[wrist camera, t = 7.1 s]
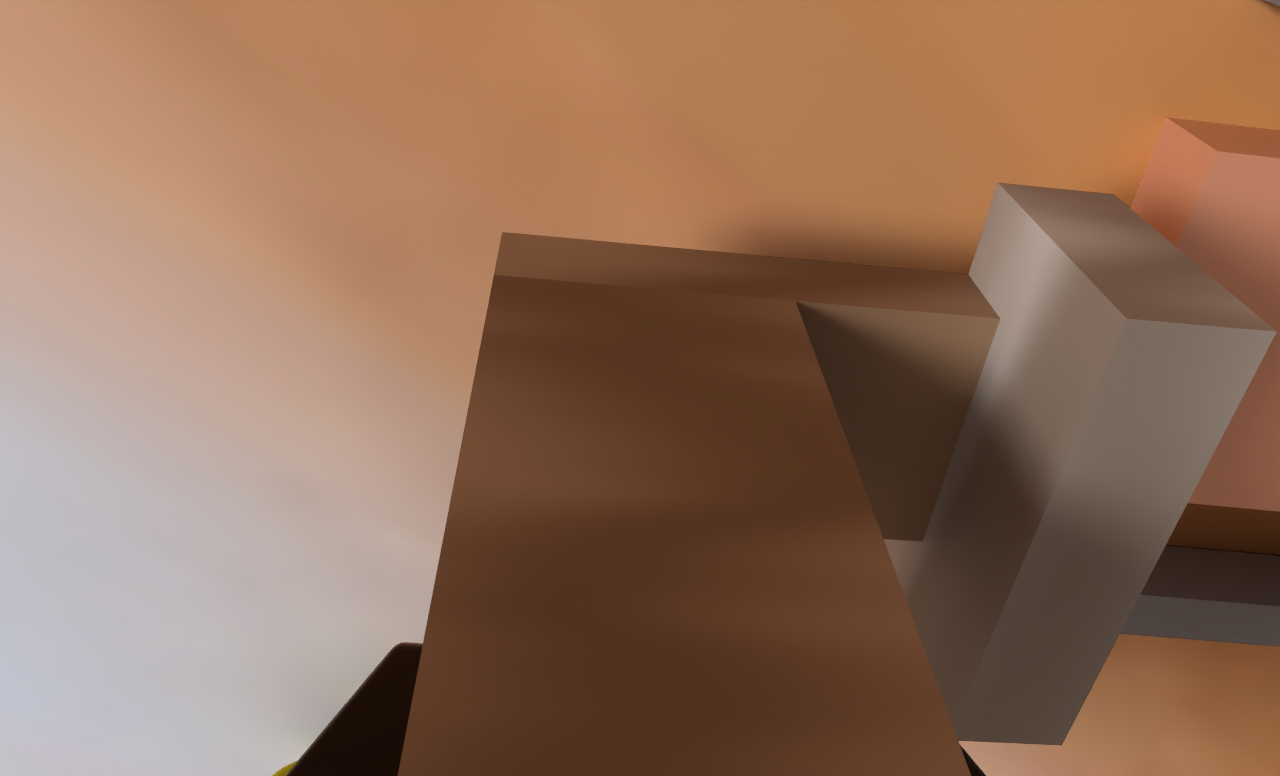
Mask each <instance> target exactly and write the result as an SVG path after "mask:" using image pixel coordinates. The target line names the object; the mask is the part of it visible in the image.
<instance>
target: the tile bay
mask: <svg viewBox="0 0 1280 776" xmlns="http://www.w3.org/2000/svg"><path fill="white" fill-rule="evenodd" d="M1264 1H1267V2H1269V3H1272V4H1275V5H1277V6H1280V0H1264ZM1120 634H1132V635H1144V636H1157V637H1169V638H1181V639H1193V640H1206V641H1218V642H1230V643H1242V644H1255V645H1267V646H1279V647H1280V556H1277V555H1265V554H1254V553H1243V552H1231V551H1220V550H1208V549H1197V548H1186V547H1174V546H1165V548H1164V550H1163V551H1162V553H1161V555H1160V557H1159V559H1158V561H1157V563H1156V565H1155V567H1154V569H1153V571H1152V573H1151V575H1150V576H1149V578H1148V580H1147V582H1146V584H1145V586H1144V588H1143V590H1142V592H1141V594H1140V596H1139V598H1138V600H1137V601H1136V603H1135V605H1134V607H1133V609H1132V611H1131V613H1130V615H1129V617H1128V619H1127V621H1126V623H1125V625H1124V626H1123V628H1122V630H1121V632H1120Z"/></svg>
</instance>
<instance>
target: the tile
mask: <svg viewBox="0 0 1280 776" xmlns="http://www.w3.org/2000/svg"><path fill="white" fill-rule="evenodd" d="M1130 209H1132V210H1133V211H1134V212H1135V213H1136V214H1138V215H1139V216H1140V217H1141V218H1142V219H1144V220H1145V221H1146V222H1147V223H1148V224H1149V225H1151V226H1152V227H1153V228H1154V229H1155V230H1157V231H1158V232H1159V233H1160V234H1161V235H1163V236H1164V237H1165V238H1166V239H1167V240H1168V241H1170V242H1171V243H1172V244H1173V245H1174V246H1176V247H1177V248H1178V249H1179V250H1180V251H1182V252H1183V253H1184V254H1185V255H1186V256H1187V257H1189V258H1190V259H1191V260H1192V261H1193V262H1195V263H1196V264H1197V265H1198V266H1199V267H1200V268H1202V269H1203V270H1204V271H1205V272H1206V273H1208V274H1209V275H1210V276H1211V277H1212V278H1214V279H1215V280H1216V281H1217V282H1218V283H1219V284H1221V285H1222V286H1223V287H1224V288H1225V289H1227V290H1228V291H1229V292H1230V293H1231V294H1233V295H1234V296H1235V297H1236V298H1237V299H1238V300H1240V301H1241V302H1242V303H1243V304H1244V305H1246V306H1247V307H1248V308H1249V309H1250V310H1252V311H1253V312H1254V313H1255V314H1256V315H1257V316H1259V317H1260V318H1261V319H1262V320H1263V321H1265V322H1266V323H1267V324H1268V325H1269V326H1271V327H1272V328H1273V329H1274V330H1275V331H1276V334H1275V336H1274V338H1273V340H1272V342H1271V344H1270V346H1269V348H1268V350H1267V352H1266V353H1265V355H1264V357H1263V359H1262V361H1261V363H1260V365H1259V367H1258V369H1257V371H1256V373H1255V375H1254V377H1253V378H1252V380H1251V382H1250V384H1249V386H1248V388H1247V390H1246V392H1245V394H1244V396H1243V398H1242V400H1241V402H1240V403H1239V405H1238V407H1237V409H1236V411H1235V413H1234V415H1233V417H1232V419H1231V421H1230V423H1229V425H1228V427H1227V428H1226V430H1225V432H1224V434H1223V436H1222V438H1221V440H1220V442H1219V444H1218V446H1217V448H1216V450H1215V452H1214V453H1213V455H1212V457H1211V459H1210V461H1209V463H1208V465H1207V467H1206V469H1205V471H1204V473H1203V475H1202V477H1201V478H1200V480H1199V482H1198V484H1197V486H1196V488H1195V490H1194V492H1193V494H1192V496H1191V498H1190V500H1189V501H1188V503H1192V504H1203V505H1213V506H1224V507H1235V508H1246V509H1257V510H1268V511H1279V512H1280V131H1279V130H1270V129H1262V128H1253V127H1245V126H1236V125H1227V124H1219V123H1210V122H1202V121H1193V120H1185V119H1176V118H1167V117H1166V120H1165V122H1164V125H1163V127H1162V130H1161V132H1160V135H1159V137H1158V140H1157V142H1156V145H1155V147H1154V150H1153V152H1152V155H1151V157H1150V160H1149V162H1148V165H1147V167H1146V170H1145V172H1144V175H1143V177H1142V180H1141V182H1140V185H1139V187H1138V190H1137V192H1136V195H1135V197H1134V200H1133V202H1132V205H1131V207H1130Z"/></svg>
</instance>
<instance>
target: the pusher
mask: <svg viewBox="0 0 1280 776" xmlns="http://www.w3.org/2000/svg"><path fill="white" fill-rule="evenodd" d="M1275 334H1276V331H1275V330H1274V329H1273V328H1272V327H1271V326H1269V325H1268V324H1267V323H1266V322H1265V321H1263V320H1262V319H1261V318H1260V317H1259V316H1257V315H1256V314H1255V313H1254V312H1253V311H1252V310H1250V309H1249V308H1248V307H1247V306H1246V305H1244V304H1243V303H1242V302H1241V301H1240V300H1238V299H1237V298H1236V297H1235V296H1234V295H1233V294H1231V293H1230V292H1229V291H1228V290H1227V289H1225V288H1224V287H1223V286H1222V285H1221V284H1219V283H1218V282H1217V281H1216V280H1215V279H1214V278H1212V277H1211V276H1210V275H1209V274H1208V273H1206V272H1205V271H1204V270H1203V269H1202V268H1200V267H1199V266H1198V265H1197V264H1196V263H1195V262H1193V261H1192V260H1191V259H1190V258H1189V257H1187V256H1186V255H1185V254H1184V253H1183V252H1182V251H1180V250H1179V249H1178V248H1177V247H1176V246H1174V245H1173V244H1172V243H1171V242H1170V241H1168V240H1167V239H1166V238H1165V237H1164V236H1163V235H1161V234H1160V233H1159V232H1158V231H1157V230H1155V229H1154V228H1153V227H1152V226H1151V225H1149V224H1148V223H1147V222H1146V221H1145V220H1144V219H1142V218H1141V217H1140V216H1139V215H1138V214H1136V213H1135V212H1134V211H1133V210H1132V209H1130V208H1129V207H1128V206H1127V205H1126V204H1125V203H1123V202H1122V201H1121V200H1120V199H1119V198H1117V197H1116V196H1115V195H1114V194H1105V193H1095V192H1085V191H1075V190H1065V189H1055V188H1045V187H1035V186H1025V185H1015V184H1005V183H998V184H997V187H996V190H995V194H994V197H993V200H992V203H991V206H990V209H989V212H988V215H987V218H986V222H985V225H984V228H983V231H982V234H981V237H980V240H979V243H978V246H977V250H976V253H975V256H974V259H973V262H972V265H971V268H970V271H969V274H957V273H946V272H935V271H924V270H913V269H902V268H891V267H880V266H869V265H858V264H847V263H836V262H825V261H814V260H803V259H792V258H781V257H770V256H759V255H747V254H736V253H725V252H714V251H703V250H692V249H681V248H670V247H659V246H648V245H637V244H626V243H615V242H604V241H593V240H582V239H571V238H560V237H549V236H538V235H527V234H516V233H505V232H502V236H501V242H500V247H499V252H498V257H497V262H496V268H495V273H494V278H493V283H492V288H491V294H490V299H489V304H488V309H487V314H486V320H485V325H484V330H483V335H482V340H481V346H480V351H479V356H478V361H477V366H476V372H475V377H474V382H473V387H472V392H471V397H470V403H469V408H468V413H467V418H466V423H465V429H464V434H463V439H462V444H461V449H460V455H459V460H458V465H457V470H456V475H455V481H454V486H453V491H452V496H451V501H450V507H449V512H448V517H447V522H446V527H445V533H444V538H443V543H442V548H441V553H440V559H439V564H438V569H437V574H436V579H435V584H434V590H433V595H432V600H431V605H430V610H429V616H428V621H427V626H426V631H425V636H424V642H423V647H422V652H421V657H420V662H419V668H418V673H417V678H416V683H415V688H414V694H413V699H412V704H411V709H410V714H409V720H408V725H407V730H406V735H405V740H404V746H403V751H402V756H401V761H400V766H399V772H398V776H971V774H970V771H969V769H968V766H967V763H966V760H965V758H964V755H963V752H962V750H961V747H960V744H959V742H958V741H979V742H1001V743H1023V744H1046V745H1062V744H1063V742H1064V740H1065V738H1066V736H1067V734H1068V732H1069V730H1070V728H1071V726H1072V724H1073V723H1074V721H1075V719H1076V717H1077V715H1078V713H1079V711H1080V709H1081V707H1082V705H1083V703H1084V701H1085V700H1086V698H1087V696H1088V694H1089V692H1090V690H1091V688H1092V686H1093V684H1094V682H1095V680H1096V678H1097V676H1098V675H1099V673H1100V671H1101V669H1102V667H1103V665H1104V663H1105V661H1106V659H1107V657H1108V655H1109V653H1110V651H1111V650H1112V648H1113V646H1114V644H1115V642H1116V640H1117V638H1118V636H1119V634H1120V632H1121V630H1122V628H1123V626H1124V625H1125V623H1126V621H1127V619H1128V617H1129V615H1130V613H1131V611H1132V609H1133V607H1134V605H1135V603H1136V601H1137V600H1138V598H1139V596H1140V594H1141V592H1142V590H1143V588H1144V586H1145V584H1146V582H1147V580H1148V578H1149V576H1150V575H1151V573H1152V571H1153V569H1154V567H1155V565H1156V563H1157V561H1158V559H1159V557H1160V555H1161V553H1162V551H1163V550H1164V548H1165V546H1166V544H1167V542H1168V540H1169V538H1170V536H1171V534H1172V532H1173V530H1174V528H1175V526H1176V525H1177V523H1178V521H1179V519H1180V517H1181V515H1182V513H1183V511H1184V509H1185V507H1186V505H1187V503H1188V501H1189V500H1190V498H1191V496H1192V494H1193V492H1194V490H1195V488H1196V486H1197V484H1198V482H1199V480H1200V478H1201V477H1202V475H1203V473H1204V471H1205V469H1206V467H1207V465H1208V463H1209V461H1210V459H1211V457H1212V455H1213V453H1214V452H1215V450H1216V448H1217V446H1218V444H1219V442H1220V440H1221V438H1222V436H1223V434H1224V432H1225V430H1226V428H1227V427H1228V425H1229V423H1230V421H1231V419H1232V417H1233V415H1234V413H1235V411H1236V409H1237V407H1238V405H1239V403H1240V402H1241V400H1242V398H1243V396H1244V394H1245V392H1246V390H1247V388H1248V386H1249V384H1250V382H1251V380H1252V378H1253V377H1254V375H1255V373H1256V371H1257V369H1258V367H1259V365H1260V363H1261V361H1262V359H1263V357H1264V355H1265V353H1266V352H1267V350H1268V348H1269V346H1270V344H1271V342H1272V340H1273V338H1274V336H1275Z"/></svg>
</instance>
